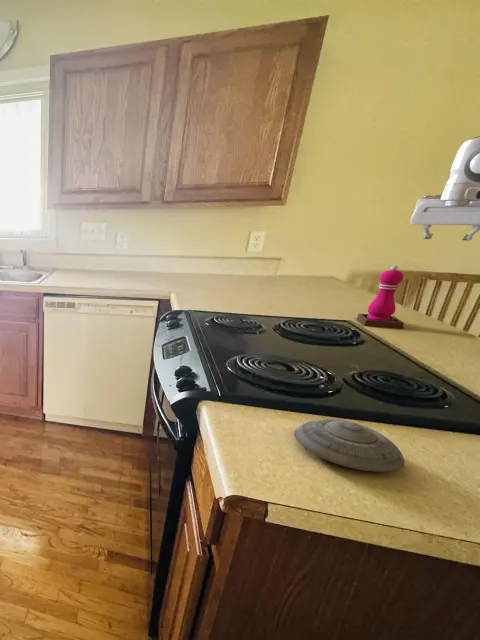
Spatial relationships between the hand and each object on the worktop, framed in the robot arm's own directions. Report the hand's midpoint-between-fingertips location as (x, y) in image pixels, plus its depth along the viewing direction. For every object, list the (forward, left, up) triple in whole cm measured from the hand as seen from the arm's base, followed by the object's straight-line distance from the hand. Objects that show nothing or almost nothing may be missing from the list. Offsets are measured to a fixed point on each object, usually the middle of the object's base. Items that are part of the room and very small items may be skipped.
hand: (446, 239), depth 129 cm
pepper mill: (+8, +8, -29) cm, 31 cm away
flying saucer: (-35, +108, -29) cm, 117 cm away
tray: (+7, +8, -29) cm, 31 cm away
